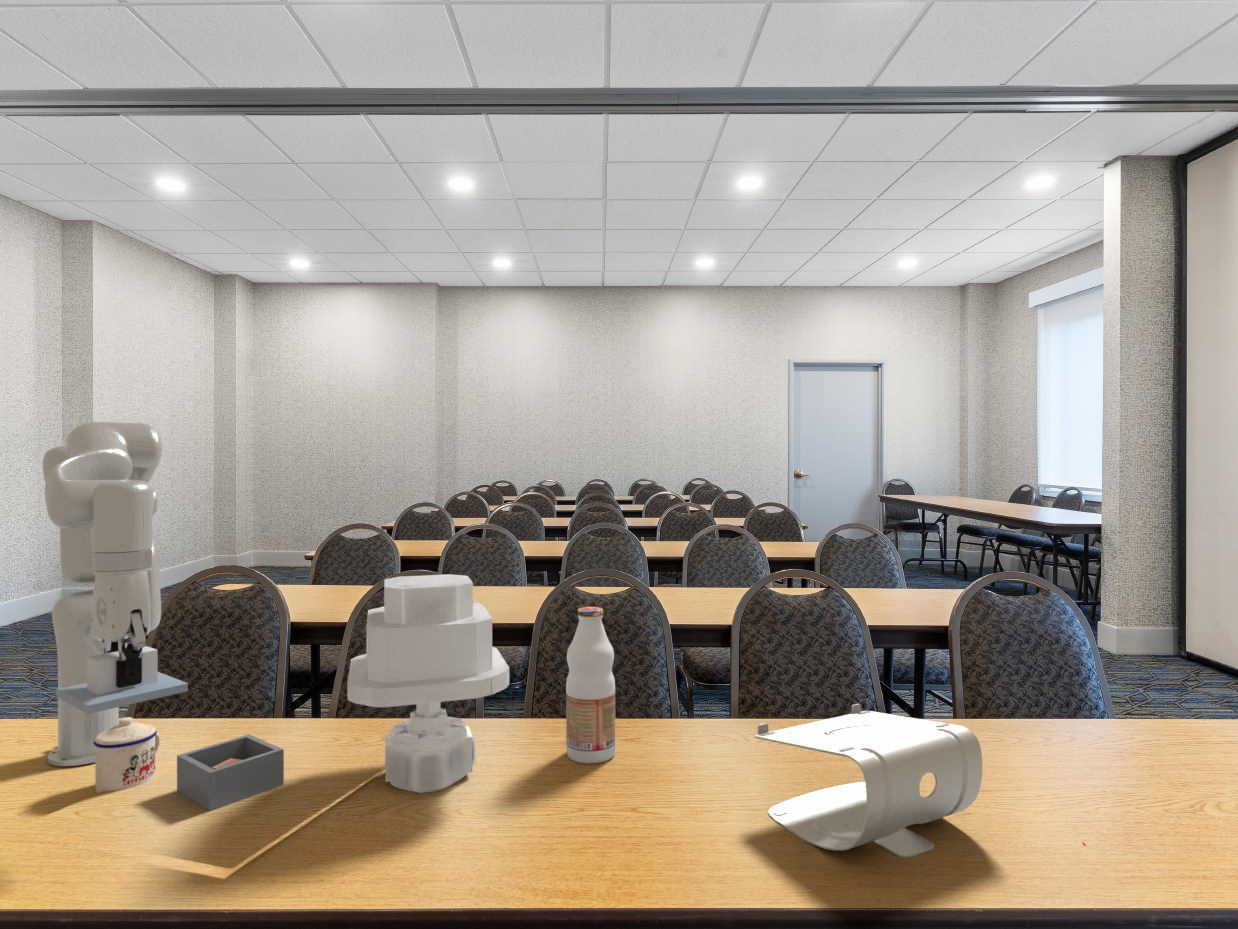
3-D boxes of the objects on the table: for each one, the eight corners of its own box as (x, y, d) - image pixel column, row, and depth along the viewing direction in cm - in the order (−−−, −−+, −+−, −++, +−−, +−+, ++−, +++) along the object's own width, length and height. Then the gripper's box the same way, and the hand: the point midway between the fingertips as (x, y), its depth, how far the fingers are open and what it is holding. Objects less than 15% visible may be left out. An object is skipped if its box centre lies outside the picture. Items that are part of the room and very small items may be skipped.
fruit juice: (570, 767, 133) (569, 614, 134) (563, 747, 143) (562, 605, 143) (620, 762, 135) (619, 612, 136) (609, 743, 145) (609, 603, 145)
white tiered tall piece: (351, 758, 138) (351, 574, 138) (493, 741, 146) (492, 568, 146) (344, 823, 112) (344, 597, 113) (516, 798, 121) (515, 588, 121)
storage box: (177, 797, 122) (177, 755, 122) (248, 773, 131) (248, 734, 131) (210, 817, 115) (210, 773, 115) (283, 790, 124) (283, 749, 124)
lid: (56, 697, 109) (56, 655, 109) (152, 676, 119) (152, 639, 119) (87, 714, 101) (87, 669, 101) (187, 691, 112) (187, 650, 112)
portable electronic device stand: (862, 882, 96) (862, 765, 96) (750, 808, 117) (750, 712, 117) (987, 836, 108) (986, 731, 108) (865, 777, 129) (865, 689, 129)
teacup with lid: (128, 798, 121) (128, 728, 121) (79, 795, 123) (80, 726, 123) (180, 769, 133) (180, 705, 133) (135, 766, 134) (136, 703, 134)
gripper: (74, 561, 112) (73, 679, 112) (115, 569, 102) (115, 699, 102) (129, 556, 118) (129, 668, 118) (173, 563, 108) (173, 686, 108)
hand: (122, 681), depth 110 cm, fingers closed on lid, 4 cm apart
